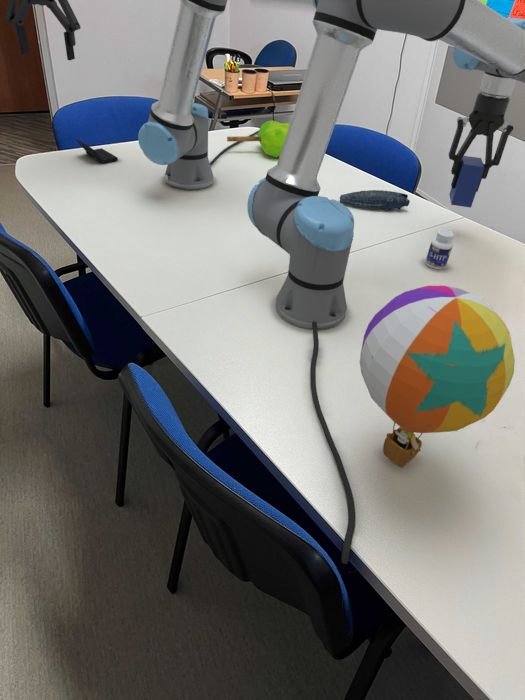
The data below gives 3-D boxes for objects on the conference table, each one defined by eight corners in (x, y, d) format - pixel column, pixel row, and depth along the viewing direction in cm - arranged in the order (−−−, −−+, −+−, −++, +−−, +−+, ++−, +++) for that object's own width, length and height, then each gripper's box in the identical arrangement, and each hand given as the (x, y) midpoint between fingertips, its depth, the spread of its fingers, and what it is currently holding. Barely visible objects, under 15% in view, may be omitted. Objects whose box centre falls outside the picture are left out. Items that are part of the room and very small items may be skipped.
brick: (468, 197, 144) (481, 157, 138) (471, 207, 139) (484, 167, 132) (449, 194, 145) (461, 155, 138) (451, 204, 139) (463, 164, 133)
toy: (310, 447, 82) (343, 285, 63) (387, 396, 93) (435, 245, 74) (411, 535, 71) (486, 371, 52) (485, 466, 82) (569, 309, 63)
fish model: (408, 214, 157) (412, 198, 153) (339, 207, 158) (341, 191, 154) (406, 206, 162) (410, 190, 159) (339, 199, 163) (341, 183, 160)
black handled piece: (122, 153, 174) (102, 132, 166) (111, 171, 173) (90, 150, 165) (101, 149, 181) (81, 128, 172) (90, 166, 179) (69, 146, 171)
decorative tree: (224, 117, 189) (303, 117, 195) (224, 146, 196) (301, 145, 201) (231, 131, 176) (316, 130, 181) (230, 162, 182) (313, 160, 188)
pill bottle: (423, 266, 132) (433, 234, 126) (426, 257, 136) (435, 226, 130) (444, 271, 131) (455, 239, 125) (446, 262, 135) (457, 230, 129)
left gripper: (86, -36, 131) (96, 59, 144) (-5, -45, 134) (14, 48, 147) (71, -35, 125) (84, 64, 139) (-23, -45, 128) (-2, 53, 141)
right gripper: (530, 95, 127) (497, 188, 141) (454, 86, 129) (429, 178, 143) (536, 102, 121) (501, 198, 136) (457, 93, 123) (430, 188, 138)
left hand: (48, 56), depth 143 cm, fingers open, 13 cm apart
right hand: (464, 187), depth 139 cm, fingers closed on brick, 5 cm apart
